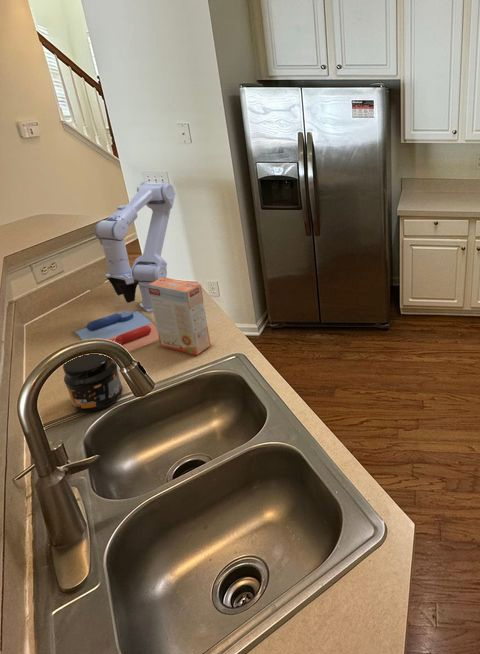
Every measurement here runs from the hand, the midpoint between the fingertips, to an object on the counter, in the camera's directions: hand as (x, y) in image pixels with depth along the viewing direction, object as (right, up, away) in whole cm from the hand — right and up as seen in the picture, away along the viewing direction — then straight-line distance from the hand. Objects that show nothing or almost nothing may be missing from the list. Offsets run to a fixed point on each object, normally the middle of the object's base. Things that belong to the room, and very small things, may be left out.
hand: (126, 297), depth 137 cm
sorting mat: (+1, -11, -3) cm, 12 cm away
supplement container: (+13, -22, -30) cm, 39 cm away
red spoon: (+5, -12, -6) cm, 15 cm away
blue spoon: (-6, -9, +2) cm, 11 cm away
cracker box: (+23, -14, -8) cm, 28 cm away
